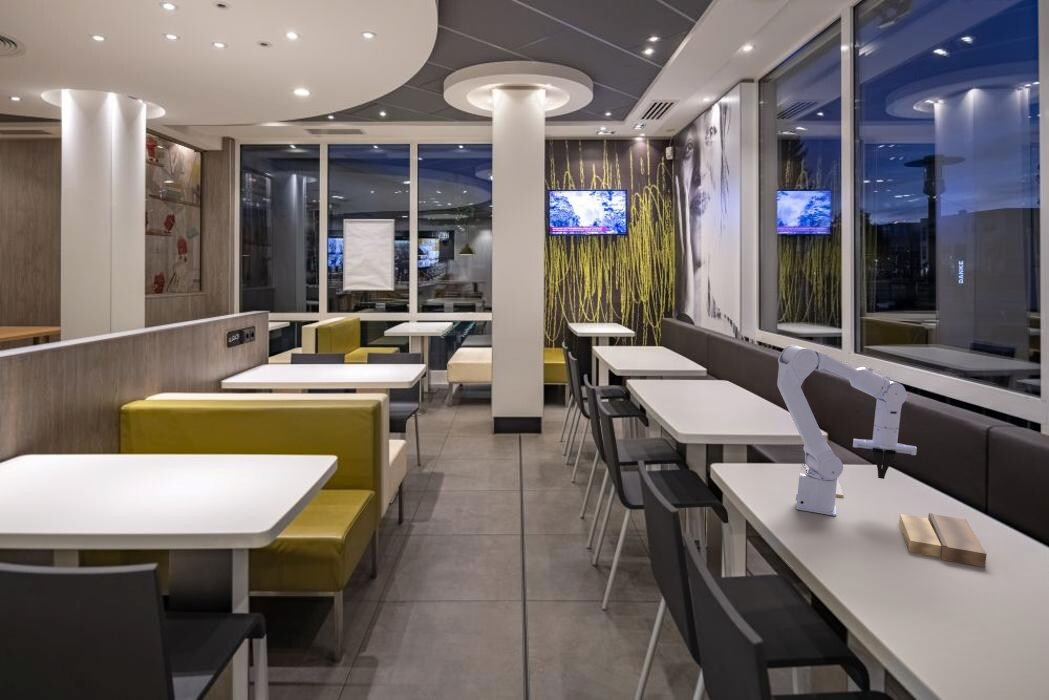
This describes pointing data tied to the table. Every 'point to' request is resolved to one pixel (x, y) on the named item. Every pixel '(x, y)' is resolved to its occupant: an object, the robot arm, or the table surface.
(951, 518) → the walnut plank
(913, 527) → the oak plank
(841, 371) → the robot arm
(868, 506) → the table surface
